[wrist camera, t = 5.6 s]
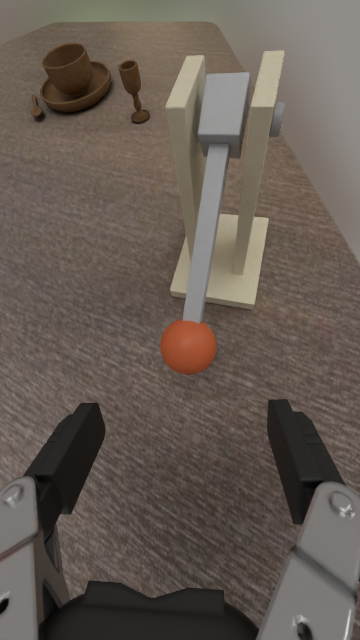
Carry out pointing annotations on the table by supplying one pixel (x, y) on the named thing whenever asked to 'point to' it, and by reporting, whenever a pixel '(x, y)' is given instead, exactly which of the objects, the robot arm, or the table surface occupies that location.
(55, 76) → the place setting
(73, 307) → the table surface
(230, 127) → the lever
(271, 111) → the bracket
